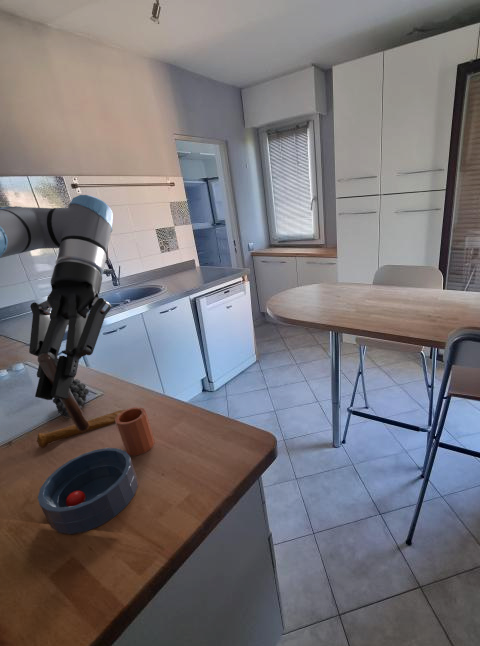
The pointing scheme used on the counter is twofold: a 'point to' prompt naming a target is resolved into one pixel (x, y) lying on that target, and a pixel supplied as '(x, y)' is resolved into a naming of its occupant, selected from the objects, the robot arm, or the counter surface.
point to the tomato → (75, 498)
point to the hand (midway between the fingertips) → (51, 397)
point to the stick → (70, 402)
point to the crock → (135, 431)
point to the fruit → (78, 393)
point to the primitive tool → (72, 430)
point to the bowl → (89, 490)
